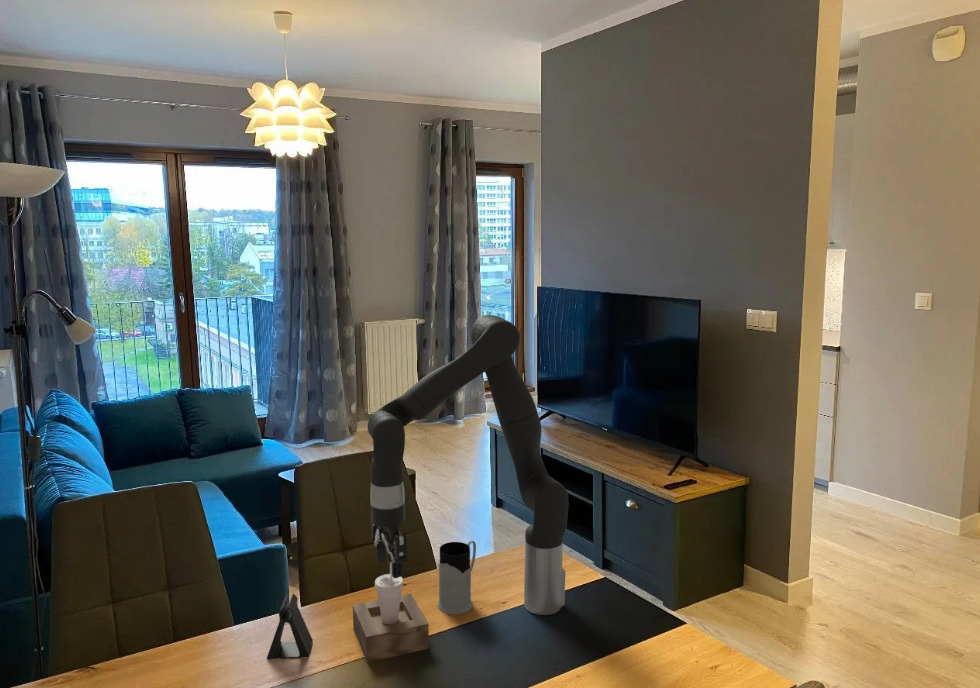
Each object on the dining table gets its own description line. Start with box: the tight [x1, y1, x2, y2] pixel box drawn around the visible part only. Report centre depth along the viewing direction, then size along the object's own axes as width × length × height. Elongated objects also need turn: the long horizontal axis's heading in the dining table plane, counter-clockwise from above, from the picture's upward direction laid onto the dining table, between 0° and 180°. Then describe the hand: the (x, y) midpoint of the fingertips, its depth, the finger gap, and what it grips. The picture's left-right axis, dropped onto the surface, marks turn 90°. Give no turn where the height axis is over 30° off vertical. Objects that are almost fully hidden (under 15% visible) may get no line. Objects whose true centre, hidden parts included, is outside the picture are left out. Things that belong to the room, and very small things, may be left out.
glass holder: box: [436, 540, 477, 615], centre depth 183 cm, size 9×14×15 cm, turn 151°
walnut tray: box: [352, 593, 430, 663], centre depth 167 cm, size 14×14×6 cm
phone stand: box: [266, 593, 314, 660], centre depth 161 cm, size 9×6×12 cm, turn 95°
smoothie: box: [374, 561, 404, 624], centre depth 165 cm, size 6×6×14 cm
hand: (389, 568), depth 165 cm, fingers open, 8 cm apart
